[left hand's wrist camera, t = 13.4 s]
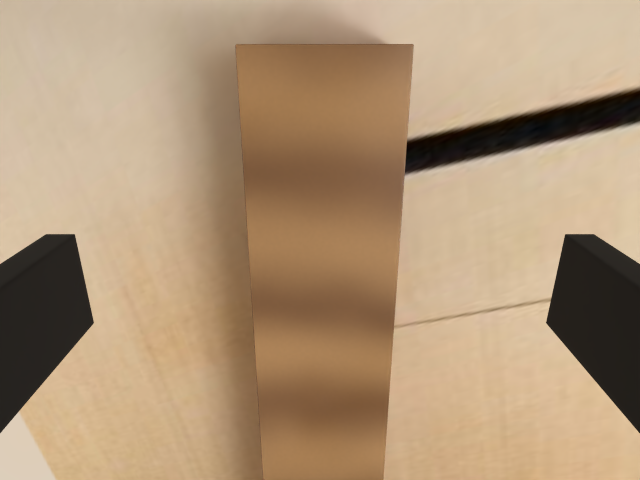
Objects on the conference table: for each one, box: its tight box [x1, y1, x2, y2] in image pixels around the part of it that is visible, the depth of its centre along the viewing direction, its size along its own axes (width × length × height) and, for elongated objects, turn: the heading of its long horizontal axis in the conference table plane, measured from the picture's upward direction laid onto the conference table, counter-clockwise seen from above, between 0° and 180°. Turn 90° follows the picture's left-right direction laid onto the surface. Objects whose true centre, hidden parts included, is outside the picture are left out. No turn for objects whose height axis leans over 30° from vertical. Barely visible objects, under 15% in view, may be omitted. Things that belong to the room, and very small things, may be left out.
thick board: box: [235, 44, 414, 480], centre depth 40 cm, size 68×10×7 cm, turn 0°
